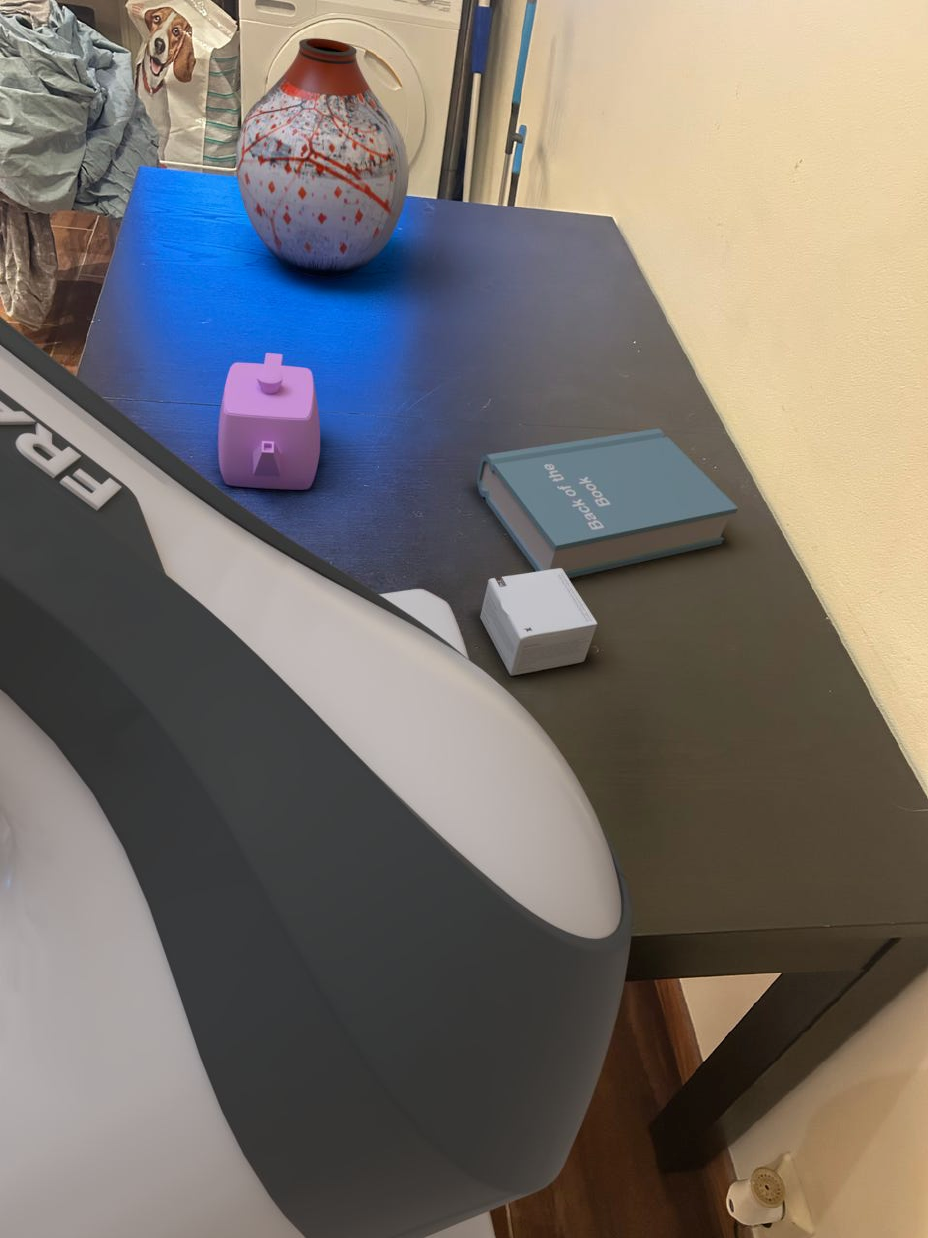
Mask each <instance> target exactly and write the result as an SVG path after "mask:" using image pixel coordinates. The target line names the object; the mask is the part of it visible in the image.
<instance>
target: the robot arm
mask: <svg viewBox="0 0 928 1238" xmlns="http://www.w3.org/2000/svg"><path fill="white" fill-rule="evenodd" d="M633 924H634V910H633V902H632V898H631V892H630V888H629V885H628V881H627V878H626V875H625V871H624V870H623V867H622V863H621V862H620V859H619V856H618V854H617V852H616V850H615V847H614V846H613V843H612V841H611V839H610V837H609V835H608V833H607V831H606V829H605V828H604V825H603V824H602V822H601V820H600V818H599V817H598V814H597V812H596V811H595V809H594V808H593V805H592V803H591V802H590V800H589V798H588V796H587V794H586V792H585V790H584V788H583V786H582V785H581V783H580V781H579V779H578V777H577V775H576V774H575V772H574V770H573V769H572V767H571V765H569V763H568V762H567V760H566V758H565V757H564V755H563V754H562V752H561V751H560V749H558V746H557V745H556V744H555V743H554V741H553V739H551V737H550V736H549V735H548V733H547V732H546V730H544V728H543V726H541V725H540V723H538V721H537V720H536V719H535V718H534V716H533V715H532V714H531V713H530V712H529V711H528V710H527V709H526V708H525V707H524V706H523V705H522V704H521V703H520V702H519V701H518V700H517V698H515V696H513V695H512V694H511V693H510V692H509V690H507V689H505V688H504V687H503V686H502V685H501V684H500V683H498V681H496V680H495V679H494V678H493V677H492V676H490V675H489V674H488V673H487V672H486V671H485V670H483V669H482V668H481V667H479V666H478V665H476V664H475V663H473V662H472V661H471V660H470V658H469V654H468V650H467V648H466V645H465V641H464V638H463V636H462V633H461V630H460V627H459V624H458V621H457V619H456V616H455V614H454V611H453V609H452V607H451V606H450V604H449V603H448V602H447V601H446V600H444V599H442V598H441V597H440V596H438V595H436V594H434V593H432V592H431V591H428V590H426V589H424V588H412V589H405V590H398V591H392V592H386V593H378V592H376V591H374V590H373V589H371V588H369V587H368V586H366V585H365V584H363V583H362V582H360V581H358V580H357V579H355V578H354V577H352V576H350V575H349V574H347V573H345V572H344V571H342V570H341V569H339V568H338V567H336V566H334V565H333V564H331V563H330V562H328V561H327V560H324V559H323V558H322V557H319V556H318V555H317V554H315V553H313V552H312V551H310V550H308V548H305V547H304V546H302V545H301V544H299V543H297V542H296V541H295V540H293V539H291V538H290V537H288V536H287V535H284V534H283V533H282V532H280V531H279V530H277V529H276V528H275V527H273V526H272V525H270V524H269V523H267V522H266V521H264V520H263V519H261V518H260V517H258V516H257V515H256V514H254V513H253V512H252V511H250V510H249V509H248V508H247V507H245V506H243V504H240V503H239V502H237V501H236V500H235V499H234V498H232V497H231V496H230V495H228V493H225V491H223V490H222V489H220V488H219V487H218V486H217V485H215V484H214V483H213V482H211V481H210V480H209V479H208V478H207V477H205V476H204V475H202V474H201V473H200V472H199V471H197V470H196V469H195V468H193V467H192V466H191V465H189V464H188V463H187V462H186V461H185V460H183V459H182V458H181V457H179V456H178V455H177V454H175V453H174V452H173V451H171V449H169V448H167V446H165V445H164V444H162V443H161V442H160V441H158V440H157V439H156V438H155V437H154V436H152V435H151V434H150V433H148V432H147V431H146V430H144V429H143V428H142V427H141V426H140V425H138V424H137V423H136V422H135V421H133V420H132V419H131V418H129V417H128V416H127V415H126V414H124V413H123V412H122V411H121V410H119V409H118V408H117V407H116V406H114V405H113V404H112V403H111V402H109V401H108V400H106V399H105V398H104V397H103V396H102V395H100V394H99V393H98V392H97V391H95V389H93V388H91V387H90V386H89V385H88V384H87V383H86V382H84V381H83V380H81V379H80V378H79V377H78V376H76V374H74V373H72V372H71V371H70V370H69V369H68V368H67V367H65V366H64V365H62V364H61V363H60V362H59V361H57V359H55V358H54V357H53V356H51V355H50V354H48V353H47V352H46V351H45V350H44V349H43V348H41V347H40V346H39V345H38V344H36V343H35V342H34V341H32V340H31V339H30V338H28V337H27V336H26V335H24V333H22V332H21V331H20V330H19V329H17V328H16V327H15V326H13V325H12V323H9V322H8V321H7V320H6V319H5V318H3V317H2V316H0V1238H496V1235H495V1229H494V1224H493V1220H492V1216H491V1211H493V1210H495V1209H498V1208H500V1207H502V1206H506V1205H509V1204H510V1203H513V1202H515V1201H517V1200H520V1199H522V1198H525V1197H528V1196H530V1195H532V1194H534V1193H537V1192H540V1191H541V1190H543V1189H545V1188H547V1187H548V1186H549V1185H550V1184H551V1183H553V1182H554V1181H555V1179H557V1177H558V1176H559V1175H560V1173H561V1172H562V1170H563V1168H564V1167H565V1165H566V1162H567V1160H568V1157H569V1155H570V1153H571V1150H572V1148H573V1145H574V1143H575V1141H576V1139H577V1136H578V1133H579V1131H580V1128H581V1127H582V1124H583V1122H584V1119H585V1116H586V1113H587V1112H588V1109H589V1107H590V1103H591V1101H592V1098H593V1095H594V1093H595V1090H596V1088H597V1084H598V1081H599V1079H600V1076H601V1073H602V1070H603V1067H604V1063H605V1059H606V1057H607V1054H608V1050H609V1046H610V1044H611V1040H612V1036H613V1032H614V1028H615V1025H616V1021H617V1017H618V1014H619V1009H620V1005H621V1001H622V997H623V991H624V988H625V987H624V986H625V981H626V975H627V968H628V964H629V957H630V950H631V942H632V935H633V928H634V927H633V926H634V925H633Z"/></svg>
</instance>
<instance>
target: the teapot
mask: <svg viewBox="0 0 928 1238" xmlns="http://www.w3.org/2000/svg"><path fill="white" fill-rule="evenodd" d="M264 356H265V357H264V361H263V362H264V363H255V362H238V361H237V362H234V363H233V364H232V365H230V368H229V371H228V372H227V376H226V380H225V381H226V382H225V385H224V389H223V394H222V398H221V405H220V410H219V418H218V419H219V420H218V435H217V439H218V440H217V447H218V448H217V449H218V450H217V451H218V463H219V469H220V470H219V471H220V474H221V477H222V480H223V482H224V483H225V485H227V486H232V487H239V488H240V487H241V488H253V489H254V488H255V489H270V490H291V491H292V490H293V491H294V490H296V491H297V490H298V491H299V490H300V491H304V490H309V489H310V488H311V487H312V485H313V482H314V480H315V477H316V474H317V471H318V470H317V469H318V465H319V459H320V453H321V424H320V413H319V407H318V406H319V405H318V399H317V393H316V387H315V386H316V385H315V380H314V376H313V372H312V370H311V369H310V368H308V367H300V366H291V365H284V360H283V358H284V354H282V353H273V352H265V355H264Z"/></svg>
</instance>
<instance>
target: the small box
mask: <svg viewBox="0 0 928 1238" xmlns="http://www.w3.org/2000/svg"><path fill="white" fill-rule="evenodd" d="M479 618H480V620H481V622H482V625H483V626H484V628H485V630H486V632H487V633H488V635H489V638H490V639H491V641H492V643H493V645H494V647H495V649H496V651H497V653H498V654H499V657H500V658H501V660H502V663H503V665H504V666H505V668H506V670H507V672H508V674H509V676H512V677H513V676H519V675H524V674H528V673H534V672H539V671H543V670H548V669H555V668H559V667H560V668H561V667H566V666H570V665H575V664H579V663H583V662H585V660H586V657H587V655H588V652H589V648H590V646H591V643H592V640H593V638H594V634H595V631H596V629H597V627H598V622H597V620H596V618H595V617H594V615H593V614H592V612H591V611H590V609H589V607H588V606H587V605H586V603H585V602H584V600H583V599H582V597H581V596H580V594H579V593H578V591H577V590H576V587H575V586H574V585H573V583H572V582H571V580H570V578H568V577H567V575H566V574H565V572H564V571H563V569H562V568H558V569H551V570H544V571H538V572H536V571H531V572H526V573H519V574H511V575H506V576H499V577H493V578H489V579H488V581H487V585H486V590H485V594H484V599H483V602H482V607H481V612H480V615H479Z"/></svg>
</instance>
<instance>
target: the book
mask: <svg viewBox="0 0 928 1238" xmlns="http://www.w3.org/2000/svg"><path fill="white" fill-rule="evenodd" d="M476 484H477V488H478V489H477V490H478V493H479V494H480V496H481V497H482V498H485V502H486V504H487V505H488V507H489V508H490V509H491V511H492V512H493V513H494V516H495V517H496V518H497V519H498V521H500V523H501V525H502V526H503V528H504V529H505V530H506V532H507V534H508V535H509V536H510V537H511V539H512V540H513V542H514V543H515V544H516V545H517V547H518V548H519V550H520V552H521V553H522V554H523V555H524V557H525V558H526V559H527V561H528V562H529V564H530V565H531V567H532V568H533V569H534V570H535V571H534V572H538V571H544V570H551V569H558V568H562V569H563V571H564V572H565V574H566V575H567V577H568V579H572V578H576V577H580V576H585V575H589V574H594V573H597V572H604V571H607V570H612V569H616V568H620V567H621V568H622V567H625V566H630V565H634V564H638V563H642V562H647V561H651V560H656V559H660V558H665V557H669V556H673V555H679V554H682V553H687V552H692V551H696V550H700V549H705V548H708V547H709V548H710V547H714V546H717V545H722V543H723V542H724V540H725V539H724V537H723V536H722V534H723V533H724V530H725V527H726V525H727V523H728V521H729V518H730V516H731V515H734V514H737V512H738V510H739V508H738V506H737V505H736V504H735V503H734V502H733V501H732V500H731V499H730V498H729V497H728V496H727V495H726V494H725V493H724V492H723V491H722V490H721V489H720V488H719V487H718V486H717V485H716V484H715V483H714V482H713V481H712V480H711V478H709V477H708V476H707V475H706V474H705V472H703V471H702V470H701V469H700V468H699V467H698V465H696V464H695V463H694V462H693V461H692V460H691V459H690V458H689V457H688V456H687V455H686V453H684V452H683V450H681V449H680V447H678V446H677V444H675V442H673V440H672V439H670V438H669V437H668V436H665V434H664V432H663V431H662V429H661V428H653V429H652V428H651V429H645V430H640V431H632V432H626V433H618V434H613V435H606V436H600V437H594V438H587V439H580V440H573V441H568V442H567V441H566V442H560V443H555V444H548V445H541V446H535V447H528V448H521V449H516V450H515V449H514V450H508V451H502V452H495V453H488V454H485V455H481V457H480V463H479V467H478V473H477V478H476Z"/></svg>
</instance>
